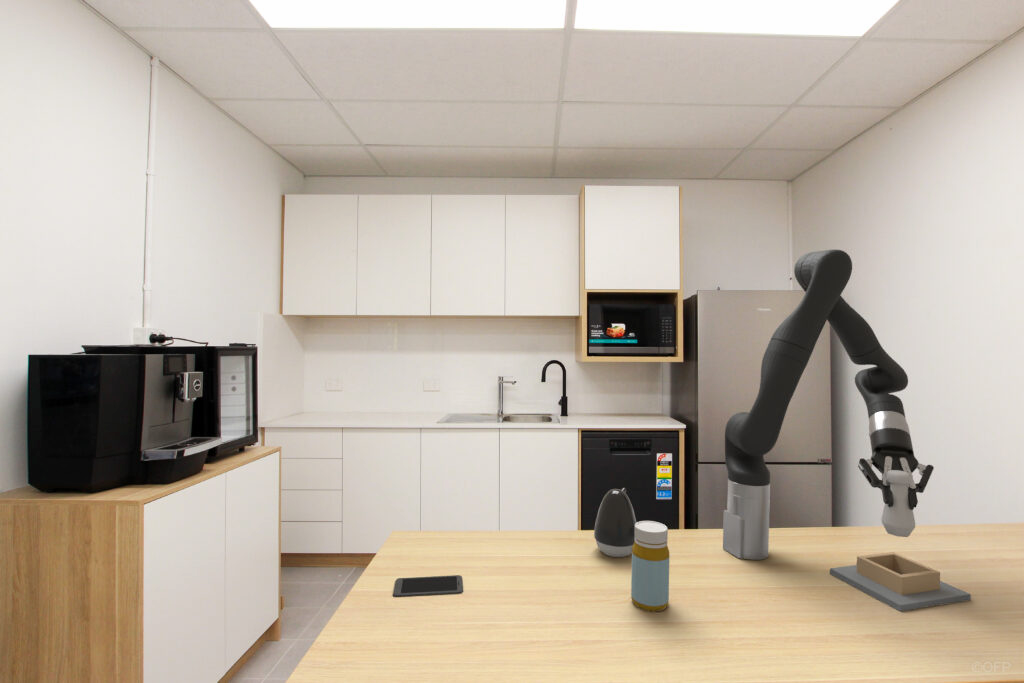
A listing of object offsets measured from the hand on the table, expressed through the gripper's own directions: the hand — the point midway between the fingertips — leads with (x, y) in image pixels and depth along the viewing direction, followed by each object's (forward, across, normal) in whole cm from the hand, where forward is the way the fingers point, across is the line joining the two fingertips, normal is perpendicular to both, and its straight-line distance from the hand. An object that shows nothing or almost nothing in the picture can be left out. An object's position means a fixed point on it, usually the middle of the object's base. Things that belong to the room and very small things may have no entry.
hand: (901, 506), depth 109 cm
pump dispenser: (+18, -57, +6) cm, 60 cm away
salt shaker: (+3, 0, +6) cm, 7 cm away
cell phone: (+42, -87, -17) cm, 98 cm away
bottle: (+32, -45, -8) cm, 56 cm away
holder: (+11, 0, +14) cm, 18 cm away
